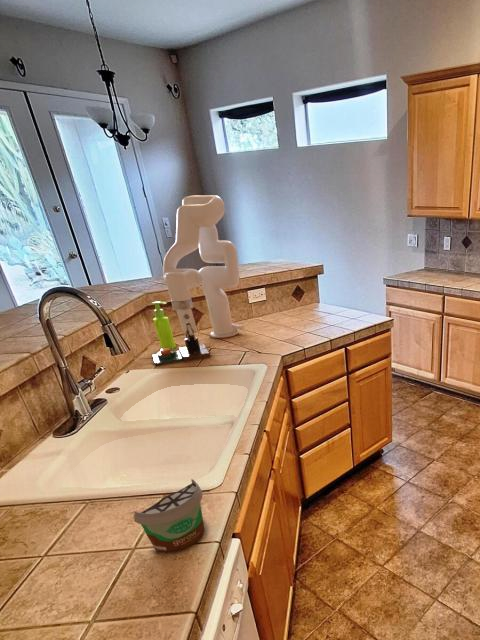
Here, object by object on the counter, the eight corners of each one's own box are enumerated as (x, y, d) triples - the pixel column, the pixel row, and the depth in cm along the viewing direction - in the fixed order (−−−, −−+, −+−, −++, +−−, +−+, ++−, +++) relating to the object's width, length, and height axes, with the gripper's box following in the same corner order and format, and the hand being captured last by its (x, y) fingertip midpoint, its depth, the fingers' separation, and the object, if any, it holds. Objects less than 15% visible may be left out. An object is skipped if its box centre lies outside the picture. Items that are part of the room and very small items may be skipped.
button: (170, 351, 178) (169, 347, 177) (171, 353, 175) (170, 349, 175) (160, 353, 177) (159, 349, 176) (161, 355, 174) (160, 351, 173)
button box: (179, 353, 184) (177, 346, 183) (182, 361, 175) (180, 354, 173) (153, 357, 179) (151, 350, 178) (155, 365, 170) (153, 358, 169)
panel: (204, 348, 190) (203, 343, 188) (210, 357, 179) (209, 352, 178) (180, 352, 185) (178, 347, 184) (184, 361, 174) (183, 356, 173)
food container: (167, 568, 76) (151, 524, 71) (147, 555, 79) (131, 512, 74) (225, 527, 85) (214, 487, 81) (205, 517, 88) (193, 477, 84)
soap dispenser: (174, 349, 189) (161, 303, 180) (158, 349, 189) (145, 303, 180) (180, 345, 194) (168, 300, 185) (165, 345, 195) (153, 300, 185)
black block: (199, 348, 183) (196, 336, 180) (200, 349, 181) (197, 337, 179) (187, 350, 181) (184, 338, 178) (187, 351, 179) (184, 339, 177)
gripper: (195, 307, 167) (206, 351, 176) (189, 299, 180) (199, 341, 189) (174, 309, 164) (186, 355, 172) (169, 301, 177) (181, 344, 185)
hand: (193, 347), depth 180 cm, fingers open, 5 cm apart
